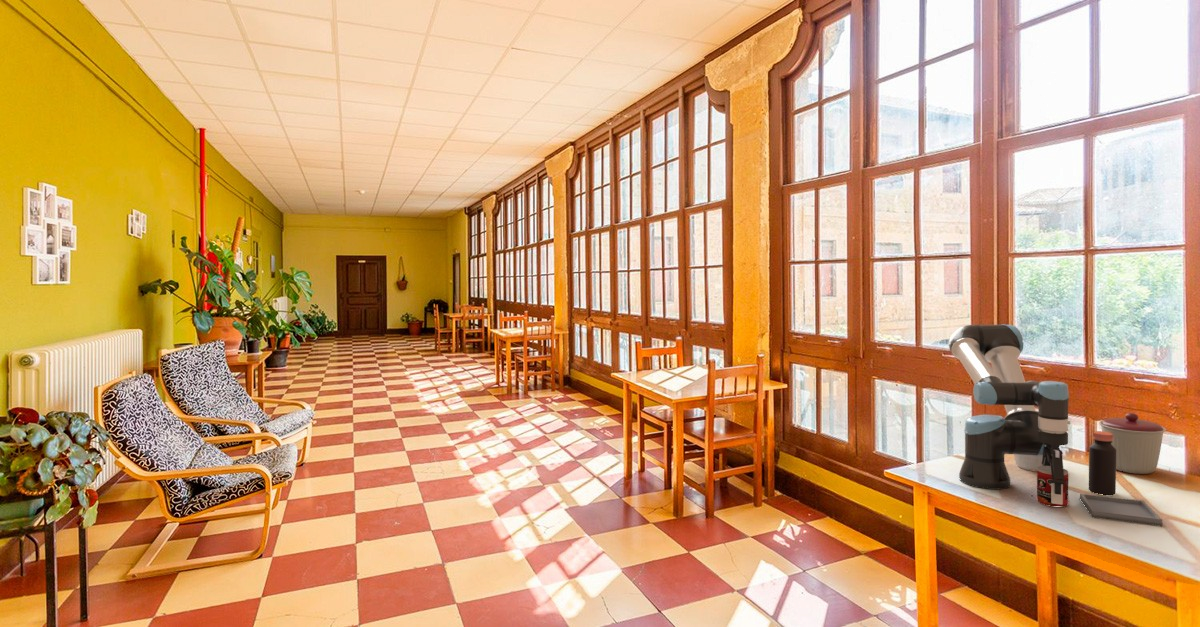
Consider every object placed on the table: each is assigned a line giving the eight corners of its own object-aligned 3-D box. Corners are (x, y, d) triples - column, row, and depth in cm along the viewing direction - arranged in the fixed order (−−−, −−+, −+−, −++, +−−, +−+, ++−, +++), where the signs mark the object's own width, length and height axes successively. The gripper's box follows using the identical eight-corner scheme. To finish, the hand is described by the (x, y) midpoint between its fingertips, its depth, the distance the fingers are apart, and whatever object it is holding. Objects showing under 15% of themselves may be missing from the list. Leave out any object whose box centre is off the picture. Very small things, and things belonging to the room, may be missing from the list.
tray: (1092, 517, 175) (1092, 510, 175) (1079, 499, 189) (1079, 493, 189) (1162, 526, 168) (1162, 519, 168) (1143, 506, 181) (1143, 500, 181)
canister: (1154, 481, 202) (1155, 421, 201) (1089, 468, 217) (1090, 412, 216) (1173, 471, 211) (1174, 413, 210) (1110, 459, 227) (1110, 405, 225)
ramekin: (1008, 467, 221) (1008, 449, 221) (1018, 459, 230) (1018, 442, 229) (1051, 475, 211) (1051, 456, 211) (1060, 467, 220) (1060, 449, 219)
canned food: (1030, 499, 190) (1031, 466, 190) (1053, 497, 191) (1053, 464, 190) (1051, 508, 183) (1051, 474, 182) (1074, 506, 183) (1075, 472, 183)
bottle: (1084, 491, 195) (1085, 432, 194) (1093, 487, 199) (1094, 429, 197) (1110, 497, 189) (1111, 437, 188) (1118, 493, 193) (1120, 433, 192)
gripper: (1077, 441, 173) (1076, 512, 174) (1059, 422, 195) (1058, 485, 196) (1046, 439, 176) (1045, 508, 177) (1031, 420, 198) (1031, 482, 199)
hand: (1052, 496), depth 187 cm, fingers open, 13 cm apart
